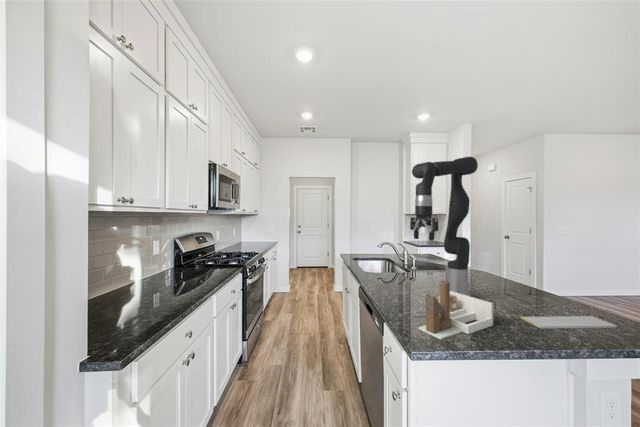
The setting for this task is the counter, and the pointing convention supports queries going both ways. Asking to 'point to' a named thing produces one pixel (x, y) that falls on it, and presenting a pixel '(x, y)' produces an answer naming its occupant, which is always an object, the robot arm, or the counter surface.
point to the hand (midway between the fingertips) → (423, 239)
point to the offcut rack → (471, 313)
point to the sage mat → (442, 332)
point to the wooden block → (438, 310)
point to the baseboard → (569, 322)
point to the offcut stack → (452, 302)
